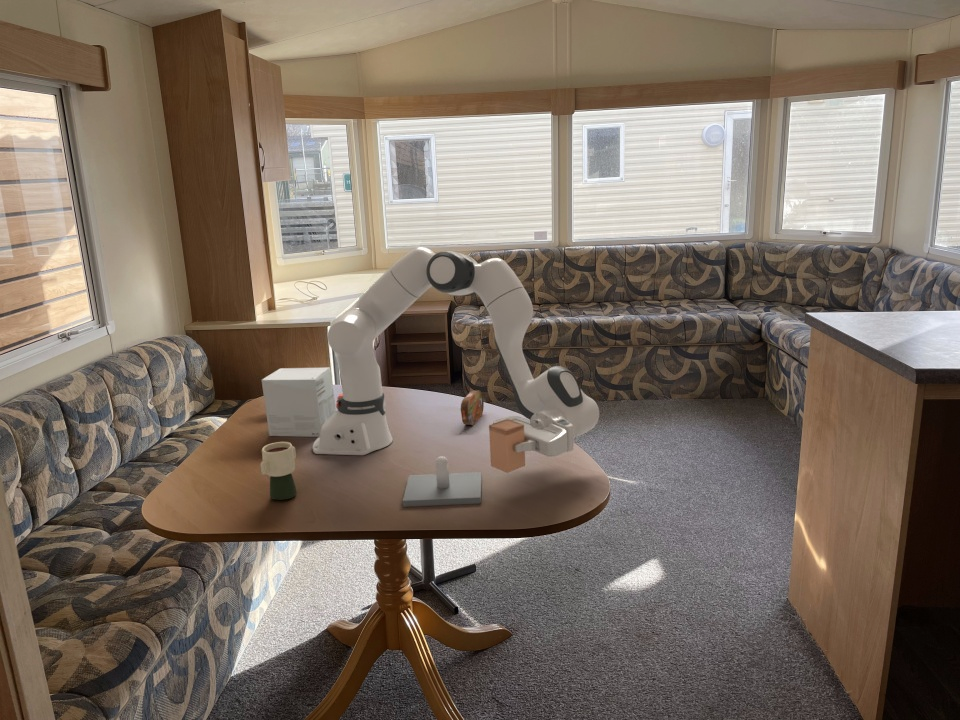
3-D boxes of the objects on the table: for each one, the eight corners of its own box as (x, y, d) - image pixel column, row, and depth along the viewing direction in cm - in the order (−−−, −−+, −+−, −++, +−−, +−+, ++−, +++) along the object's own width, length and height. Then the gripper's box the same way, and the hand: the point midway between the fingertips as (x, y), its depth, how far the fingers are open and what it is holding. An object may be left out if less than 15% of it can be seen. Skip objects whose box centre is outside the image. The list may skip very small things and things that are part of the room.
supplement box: (338, 422, 221) (332, 366, 216) (322, 437, 208) (315, 379, 204) (287, 421, 224) (279, 367, 219) (268, 437, 211) (259, 379, 207)
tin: (470, 429, 208) (468, 402, 206) (460, 428, 209) (458, 401, 207) (485, 412, 222) (483, 386, 220) (475, 411, 223) (474, 386, 221)
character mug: (289, 485, 177) (282, 437, 174) (310, 490, 173) (304, 441, 170) (256, 503, 168) (248, 453, 164) (278, 509, 164) (270, 457, 161)
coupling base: (403, 506, 162) (399, 470, 160) (409, 480, 176) (406, 447, 173) (481, 503, 162) (478, 467, 159) (481, 477, 175) (479, 443, 173)
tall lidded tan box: (507, 473, 159) (505, 431, 156) (490, 465, 163) (489, 425, 160) (525, 465, 162) (523, 424, 159) (508, 458, 166) (507, 419, 164)
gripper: (516, 406, 176) (474, 420, 167) (578, 426, 161) (535, 443, 152) (517, 430, 177) (475, 445, 169) (578, 452, 162) (535, 470, 154)
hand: (504, 444), depth 160 cm, fingers closed on tall lidded tan box, 6 cm apart
